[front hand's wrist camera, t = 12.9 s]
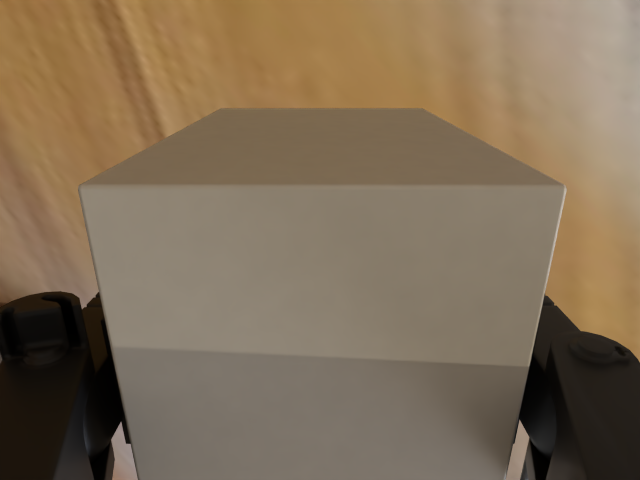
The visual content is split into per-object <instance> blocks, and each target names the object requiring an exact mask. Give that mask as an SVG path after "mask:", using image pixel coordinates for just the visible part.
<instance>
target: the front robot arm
mask: <svg viewBox="0 0 640 480" xmlns="http://www.w3.org/2000/svg"><path fill="white" fill-rule="evenodd" d="M519 419H520V421H521V423H522V424H523V426H524V428H525V430H526V432H527V434H528V435H529V437H530V438H529V442H528V447H527V451H526V456H525V460H524V465H523V469H522V474H521V478H520V480H640V362H639V361H638V359H637V358H636V357H635V356H634V354H633V353H632V352H631V351H630V350H629V349H627V348H626V347H624V346H622V345H621V344H619V343H618V342H616V341H614V340H611V339H609V338H606V337H604V336H601V335H597V334H593V333H589V332H584V331H580V330H579V329H578V328H577V327H576V326H575V325H574V324H573V323H572V322H571V320H570V319H569V318H568V317H567V316H566V315H565V314H564V313H563V312H562V311H561V310H560V309H559V308H558V307H557V306H554V303H553V301H552V300H551V299H550V298H549V297H548V296H545V294H544V299H543V304H542V309H541V313H540V318H539V323H538V328H537V332H536V337H535V342H534V347H533V351H532V356H531V361H530V366H529V370H528V375H527V380H526V385H525V389H524V394H523V399H522V404H521V408H520V413H519V418H518V423H517V427H516V432H515V437H514V442H513V444H514V443H515V438H516V433H517V429H518V424H519ZM120 422H122V427H123V431H124V436H125V441H126V444H131V443H130V438H129V433H128V428H127V424H126V419H125V414H124V409H123V404H122V399H121V395H120V390H119V385H118V380H117V375H116V371H115V366H114V361H113V356H112V351H111V346H110V342H109V337H108V332H107V327H106V322H105V317H104V313H103V308H102V303H101V298H100V293H99V292H98V293H97V294H96V298H93V299H92V300H91V301H90V302H89V303H88V304H87V307H84V308H83V309H82V308H81V304H80V299H79V298H78V297H77V296H75V295H74V294H72V293H67V292H61V291H60V292H44V293H39V294H34V295H29V296H25V297H23V298H20V299H17V300H14V301H11V302H9V303H8V304H6V305H4V306H2V307H0V480H112V476H113V468H114V461H115V458H114V452H113V447H112V442H111V439H112V437H113V435H114V433H115V431H116V429H117V428H118V426H119V424H120Z"/></svg>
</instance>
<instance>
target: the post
mask: <svg viewBox="0 0 640 480" xmlns="http://www.w3.org/2000/svg"><path fill="white" fill-rule="evenodd" d="M78 192H79V197H80V202H81V206H82V211H83V216H84V221H85V226H86V231H87V235H88V240H89V245H90V250H91V255H92V259H93V264H94V269H95V274H96V279H97V284H98V288H99V293H100V298H101V303H102V308H103V313H104V317H105V322H106V327H107V332H108V337H109V342H110V346H111V351H112V356H113V361H114V366H115V371H116V375H117V380H118V385H119V390H120V395H121V399H122V404H123V409H124V414H125V419H126V424H127V428H128V433H129V438H130V443H131V448H132V453H133V457H134V462H135V467H136V472H137V477H138V480H505V479H506V475H507V470H508V465H509V460H510V456H511V451H512V446H513V442H514V437H515V432H516V427H517V423H518V418H519V413H520V408H521V404H522V399H523V394H524V389H525V385H526V380H527V375H528V370H529V366H530V361H531V356H532V351H533V347H534V342H535V337H536V332H537V328H538V323H539V318H540V313H541V309H542V304H543V299H544V294H545V290H546V285H547V280H548V275H549V271H550V266H551V261H552V256H553V252H554V247H555V242H556V237H557V233H558V228H559V223H560V219H561V214H562V209H563V204H564V200H565V195H566V186H565V185H564V184H562V183H560V182H558V181H556V180H554V179H553V178H551V177H549V176H547V175H545V174H543V173H541V172H540V171H538V170H536V169H534V168H532V167H530V166H528V165H527V164H525V163H523V162H521V161H519V160H517V159H515V158H514V157H512V156H510V155H508V154H506V153H504V152H502V151H501V150H499V149H497V148H495V147H493V146H491V145H489V144H488V143H486V142H484V141H482V140H480V139H478V138H476V137H475V136H473V135H471V134H469V133H467V132H465V131H463V130H462V129H460V128H458V127H456V126H454V125H452V124H450V123H449V122H447V121H445V120H443V119H441V118H439V117H437V116H436V115H434V114H432V113H430V112H428V111H426V110H424V109H422V108H221V109H219V110H217V111H215V112H213V113H211V114H210V115H208V116H206V117H204V118H202V119H200V120H199V121H197V122H195V123H193V124H191V125H189V126H187V127H186V128H184V129H182V130H180V131H178V132H176V133H175V134H173V135H171V136H169V137H167V138H165V139H163V140H162V141H160V142H158V143H156V144H154V145H152V146H150V147H149V148H147V149H145V150H143V151H141V152H139V153H138V154H136V155H134V156H132V157H130V158H128V159H126V160H125V161H123V162H121V163H119V164H117V165H115V166H114V167H112V168H110V169H108V170H106V171H104V172H102V173H101V174H99V175H97V176H95V177H93V178H91V179H90V180H88V181H86V182H84V183H82V184H80V185H79V187H78Z"/></svg>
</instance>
